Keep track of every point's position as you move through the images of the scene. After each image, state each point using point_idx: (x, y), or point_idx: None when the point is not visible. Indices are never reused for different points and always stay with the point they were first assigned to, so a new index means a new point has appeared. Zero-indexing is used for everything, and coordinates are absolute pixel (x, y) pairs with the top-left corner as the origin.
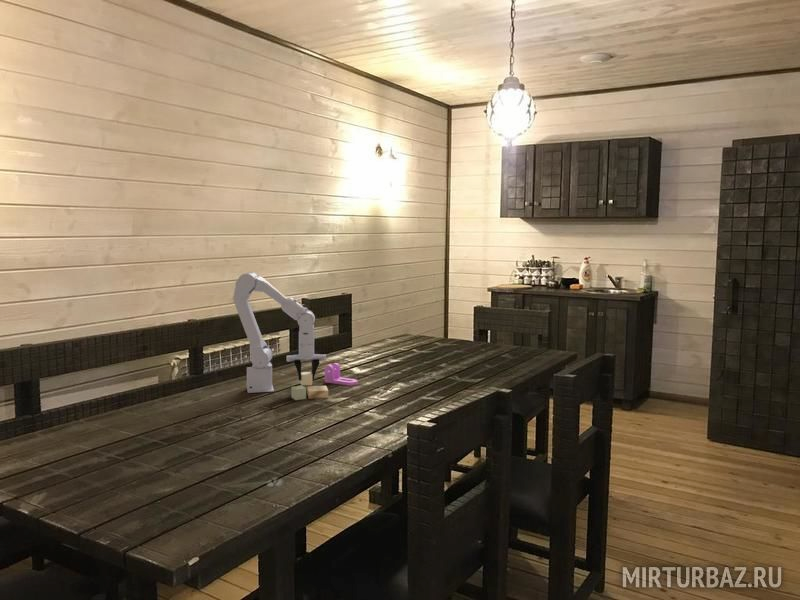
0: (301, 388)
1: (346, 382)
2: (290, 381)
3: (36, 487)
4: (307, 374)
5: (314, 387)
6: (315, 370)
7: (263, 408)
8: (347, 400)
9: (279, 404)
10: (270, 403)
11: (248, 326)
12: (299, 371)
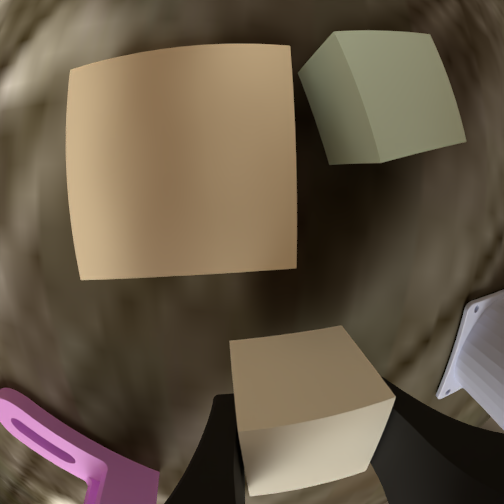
0: (382, 35)
1: (25, 410)
2: None
3: None
4: (315, 421)
5: (209, 207)
6: (187, 485)
7: (482, 13)
8: (10, 41)
9: (445, 26)
10: (481, 66)
11: None
12: (434, 425)
